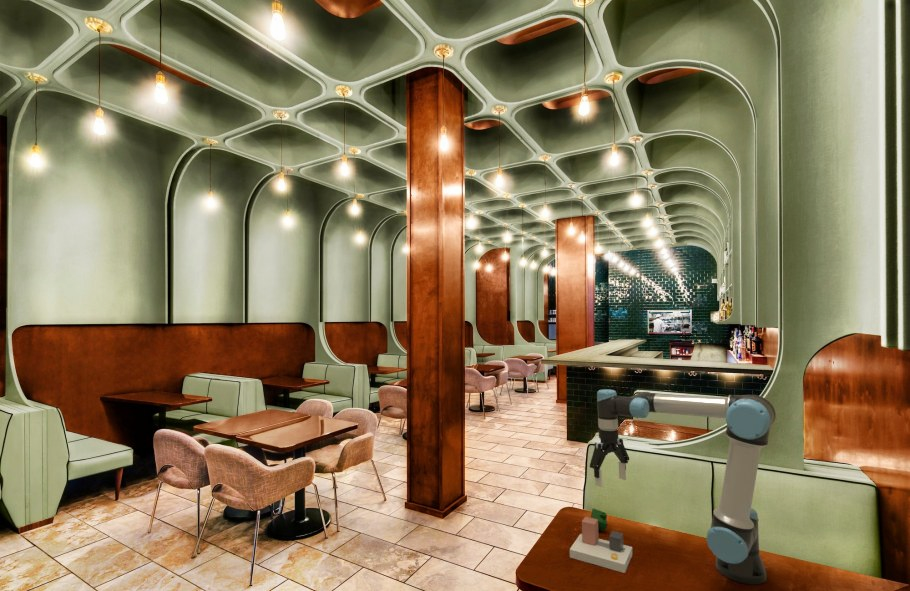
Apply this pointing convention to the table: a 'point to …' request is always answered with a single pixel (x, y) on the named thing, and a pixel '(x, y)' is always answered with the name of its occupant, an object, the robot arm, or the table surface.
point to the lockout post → (590, 530)
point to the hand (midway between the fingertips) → (610, 482)
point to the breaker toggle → (616, 541)
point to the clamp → (600, 519)
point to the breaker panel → (601, 554)
